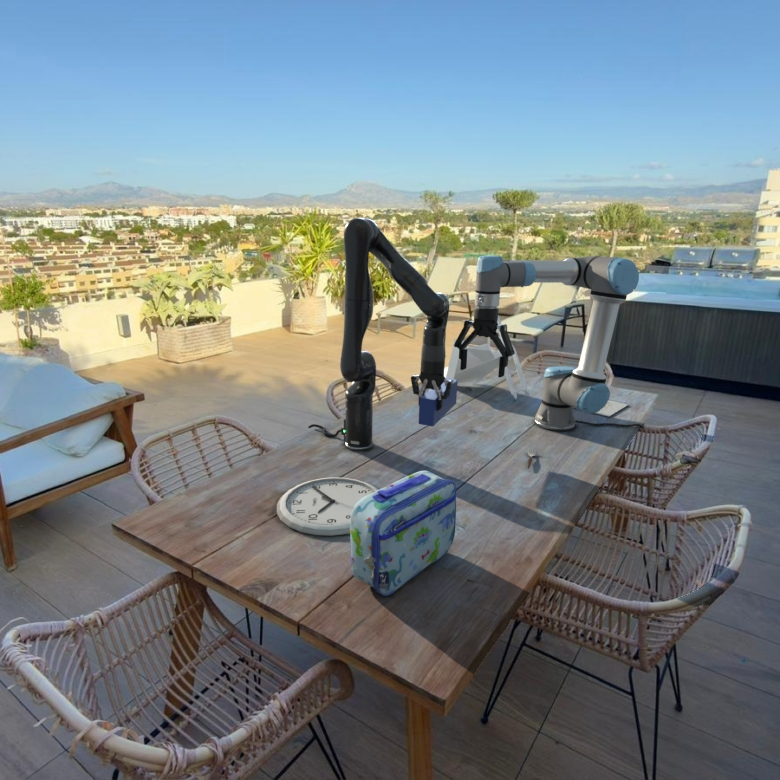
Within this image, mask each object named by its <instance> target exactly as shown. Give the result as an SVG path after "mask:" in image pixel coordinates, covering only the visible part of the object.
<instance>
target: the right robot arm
mask: <svg viewBox="0 0 780 780" xmlns="http://www.w3.org/2000/svg"><path fill="white" fill-rule="evenodd" d="M475 272H476V275H475V290H474V291H475V292H474V293H475V294H474V308H473V321H472V320H471V319H465V320H464V321H463V327H462V329H461V331H460V333H459V335H458V337H457V338H456V339H457V340H456V342H455V344H454V343H453V344H454V347H457V348H458V349H459V359H461V366H460V370H464V369H466V365H467V349H465V348H466V347H467V346H469V345H470V344H471V343H472V342H473V340H474V339H476V338H477V336H478V337H484V338H490V340H492V342H493V344H494V345H495V346H496V348H497V350H499V351H500V353H501V355H502V356H501V357H500V362H499V367H498V375H497V376H498V378H499V379H500V378H503V377H504V376H505V373H504V372H505V367H507V365H508V366H509V360H508V357H509V356H512V355H514V354H515V352H514V349H513V346H514V345H513V343H512V341H511V338H510V336H509V333H508V325H507V324H506V323H504V324H502V325H498V323H497V321H498V316H499V312H500V311H499V306H500V296H501V288H524V287H530V286H532V285H533V284H534V283H535V284H536V283H541V284H542V283H544V284H545V283H547V284H548V283H549V284H550V283H552V284H553V283H557V284H558V283H559V284H562V285H564V286H573V287H579V288H582V289H583V288H584V289H588V290H590V293H589V296H590V297H591V299H592V305H591V310H590V314H589V319H588V323H587V327H586V332H585V335H584V340H583V345H582V349H581V352H580V353H581V354H580V356H579V362H578V365H577V367H574V366H566V365H565V366H564V365H562V366H561V365H559V366H558V365H557V366H549V367H547V368H546V369H545V370H544V375H543V381H542V392H541V402H540V405H539V407H538V410H537V411H536V413H535V417H534V424H535V425H536V426H537V427H539V428H542V429H544V430H549V431H556V432H567V431H572V430H574V429H575V428H576V423H577V424H582V425H588V426H593V427H596V426H597V427H598V426H599V427H601V426H614V427H625V428H630V427H639V428H640V429H645V427H644V426H643V424H642V425H641V424H639V423H630V424H623V423H614V422H613V423H612V422H602V423H600V422H599V423H593V422H589V421H588V422H587V421H583V420H578V419H576V418H575V417H576V416H575V413H574V409H575V410H577V411H579V412H581V413H586V414H589V415H590V414H591V415H593V414H596V412H598V411H600V410H601V409H602V408H603V407H604V406H605V405H606V404H607V402H608V400H610V396H611V390H610V388H609V386H608V385H607V384H606V382H607V376H606V374H605V372H604V371H605V368H606V367H605V366H606V362H607V358H608V355H609V351H610V346H611V342H612V339H613V334H614V330H615V327H616V326H615V325H616V322H617V318H618V313H619V310H620V305H622V303H624V302H626V301H627V296H628V295H630V294H632V293H633V292H634V290H636V289H637V286H638V285H639V281H640V272H639V268H638V267H637V265H636V264H635V262H634V261H632V260H631V259H630V258H624V257H620V256H619V257H617V256H601V255H591V256H582V257H581V256H580V257H567V258H565V259H564V260H549V259H548V260H541V259H540V260H539V259H538V260H537V259H536V260H535V259H503V257H502V256H500V255H480V256H479V257H478V258H477V263H476V269H475ZM471 327H472V328H473V331H472V332H470V334H469V336H468V337H467V334H468V333H469V331H470V328H471ZM498 329H499V331H500V333H501V337H502V339H503V342H504V345H505V346H504V345H503V343H502V341H501V338H500V336H499V333H498V332H499V331H498ZM466 337H467V338H466ZM465 338H466V339H465ZM463 340H464V342H463ZM462 342H463V343H462ZM512 345H513V346H512Z"/></svg>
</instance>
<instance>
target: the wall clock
mask: <svg viewBox="0 0 780 780" xmlns="http://www.w3.org/2000/svg"><path fill="white" fill-rule="evenodd" d="M378 490H380V489H379V488H377V487H376V486H374V485H372V484H371V483H369V482H365V481H362V480H359V479H355V478H349V477H338V476H337V477H335V476H333V477H332V476H331V477H322V478H317V479H312V480H307V481H305V482H302V483H299V484H297V485H295V486H293V487H292V488H290V489H288V490H287V491H286V492H285V493H284V494H283V495H281V496H280V498H279V499H278V502H277V503H276V515H277V517H278V518H279V520H280V521H281V522H282V523H283V524H285V525H286V526H287V527H288V528H290V529H293V530H295V531H297V532H299V533H303V534H308V535H312V536H327V537H328V536H329V537H331V536H332V537H333V536H342V535H350V517H351V513H352V510H353V508H354V506H355V505H356V503H357V502H358V501H359V500H360V499H362V498H364V497H365V496H367V495H370V494H372V493H374V492H376V491H378Z"/></svg>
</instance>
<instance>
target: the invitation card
mask: <svg viewBox="0 0 780 780" xmlns="http://www.w3.org/2000/svg"><path fill="white" fill-rule="evenodd" d="M628 406H629V404H627V403H623V402H618V401H614V400H610V399H609V400H608V402H607V404H606V405H605V406H604V407H603V408H602V409H601V410H600V411H598V412H596V413H595V414H596V415H600V416H604V417H608V418H609V417H611V416H613V415H614V414H616V413H617V412H619V411H621V410H623V409H624V408H626V407H628Z"/></svg>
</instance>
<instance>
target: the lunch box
mask: <svg viewBox="0 0 780 780" xmlns="http://www.w3.org/2000/svg"><path fill="white" fill-rule="evenodd" d="M456 519H457V488H456V484H455V482H454V480H452V479H449V478H448V479H447V478H446V479H445V478H442V477H440V476H439V475H437V474H434V473H432V471H428V470H419V471H417V472H414V473H412V474H410V475H407V476H405V477H403V478H400V479H399V480H396V481H394V482H392V483H390V484H388V485H386V486H384V487H382V488H380V489H379V490H378V491H376V492H374V493H372V494H370V495H367V496H365V497H364V498H362V499H360V500H359V501H358V502H357V503H356V505H355V506H354V508H353V510H352V513H351V517H350V533H349V540H350V566H351V573H352V575H353V577H354V578H355V579H357V580H359V581H362V582H363V583H365V584H367V585H368V586H370V587H371V588H373V589H374V590H375V592H376V593H378V594H379V595H381V596H386V597H387V596H390V595H392V594H394V593H395V592H396V591H398V590H399V589H400V588H401V587H402V586H404V585H405V584H407V583H408V582H409V581H411V580H412V579H413V578H415V577H416V576H418V575H419V574H420V573H421V572H423V571H424V570H425V569H426V568H428V566H430V565H432V564H434V563H435V562H437V561H438V560H440V559H441V558H442V557H444V556H445V555H446V554H447V553H448V552H449V550H450V548H451V547H452V545H453V542H454V539H455V535H456V524H457V523H456V522H457V520H456Z"/></svg>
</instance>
